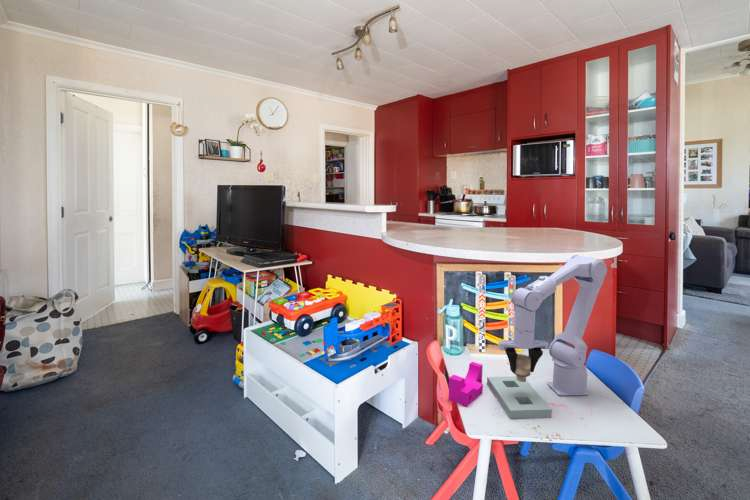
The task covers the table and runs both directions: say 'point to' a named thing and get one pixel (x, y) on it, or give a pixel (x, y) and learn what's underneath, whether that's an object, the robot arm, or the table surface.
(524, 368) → the beige rounded lump
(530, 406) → the board
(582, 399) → the table surface
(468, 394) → the toy block
